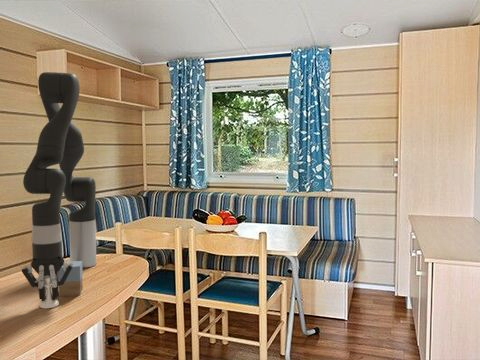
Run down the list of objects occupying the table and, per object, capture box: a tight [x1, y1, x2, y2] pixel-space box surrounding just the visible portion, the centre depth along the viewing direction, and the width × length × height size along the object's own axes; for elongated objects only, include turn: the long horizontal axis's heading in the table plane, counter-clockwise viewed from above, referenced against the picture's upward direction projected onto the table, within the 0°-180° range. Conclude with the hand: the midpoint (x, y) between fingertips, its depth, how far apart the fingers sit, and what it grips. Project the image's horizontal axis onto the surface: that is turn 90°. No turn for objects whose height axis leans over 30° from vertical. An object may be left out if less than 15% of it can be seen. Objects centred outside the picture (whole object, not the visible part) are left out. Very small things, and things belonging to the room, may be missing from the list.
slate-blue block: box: [58, 261, 84, 282], centre depth 129 cm, size 6×6×4 cm
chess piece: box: [39, 275, 60, 309], centre depth 118 cm, size 5×5×10 cm
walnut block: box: [58, 277, 84, 298], centre depth 129 cm, size 6×6×4 cm
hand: (49, 299), depth 119 cm, fingers closed on chess piece
